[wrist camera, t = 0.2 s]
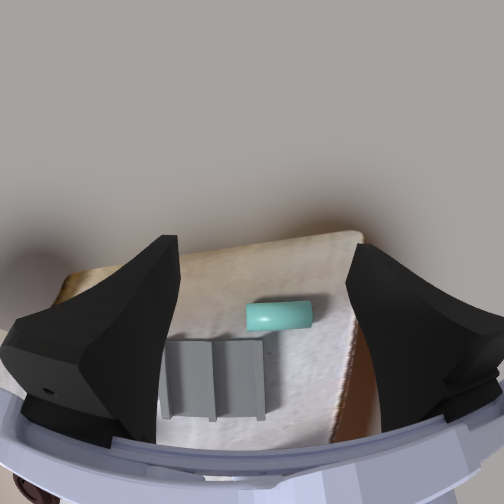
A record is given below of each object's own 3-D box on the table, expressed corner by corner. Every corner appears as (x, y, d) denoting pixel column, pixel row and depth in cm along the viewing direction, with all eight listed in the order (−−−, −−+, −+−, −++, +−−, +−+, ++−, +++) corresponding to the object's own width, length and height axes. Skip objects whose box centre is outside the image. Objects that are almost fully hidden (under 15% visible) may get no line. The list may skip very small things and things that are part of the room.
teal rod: (305, 301, 42) (311, 299, 38) (307, 327, 41) (313, 327, 37) (246, 304, 41) (246, 302, 37) (247, 331, 40) (247, 331, 36)
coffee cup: (98, 483, 31) (61, 518, 17) (64, 479, 30) (25, 507, 16) (76, 440, 34) (30, 467, 19) (43, 439, 33) (-2, 459, 18)
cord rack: (264, 414, 37) (265, 420, 34) (166, 413, 36) (162, 418, 34) (261, 339, 40) (262, 340, 37) (161, 340, 39) (156, 341, 37)
